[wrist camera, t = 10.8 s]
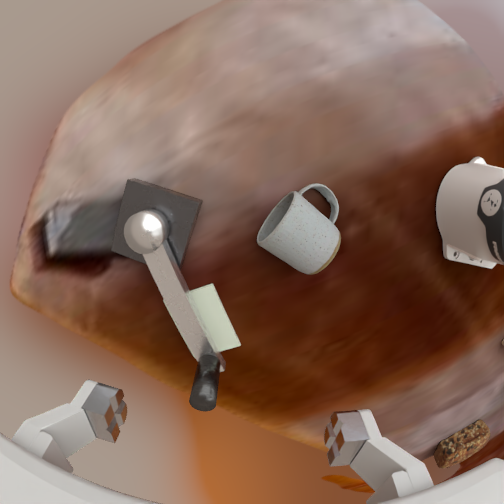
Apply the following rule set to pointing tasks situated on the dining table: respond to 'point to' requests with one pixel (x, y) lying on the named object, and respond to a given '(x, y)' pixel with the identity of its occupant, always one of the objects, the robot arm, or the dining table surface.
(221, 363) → the lever arm
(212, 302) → the mat
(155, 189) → the lever base
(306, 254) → the ceramic mug
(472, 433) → the bread
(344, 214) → the dining table surface
